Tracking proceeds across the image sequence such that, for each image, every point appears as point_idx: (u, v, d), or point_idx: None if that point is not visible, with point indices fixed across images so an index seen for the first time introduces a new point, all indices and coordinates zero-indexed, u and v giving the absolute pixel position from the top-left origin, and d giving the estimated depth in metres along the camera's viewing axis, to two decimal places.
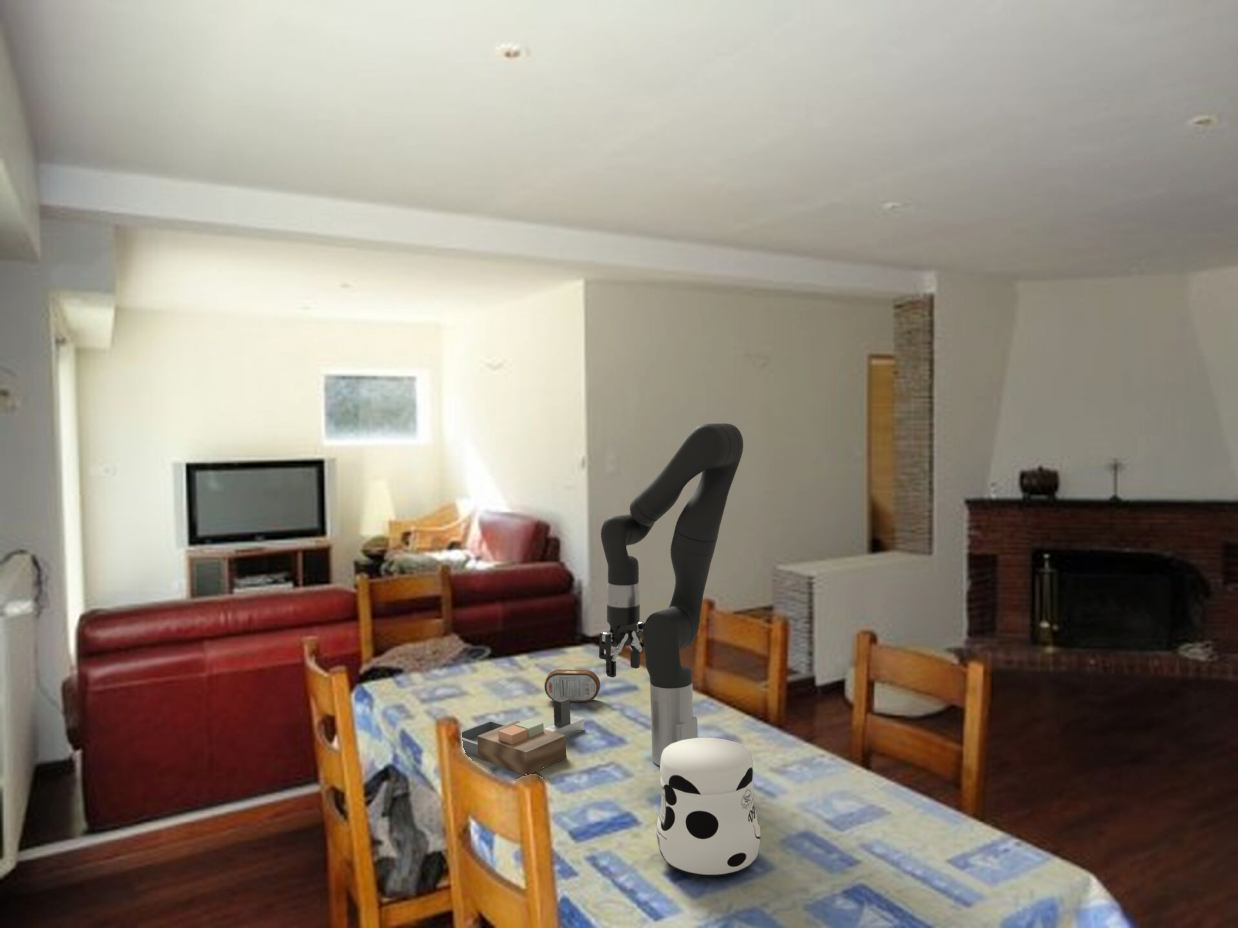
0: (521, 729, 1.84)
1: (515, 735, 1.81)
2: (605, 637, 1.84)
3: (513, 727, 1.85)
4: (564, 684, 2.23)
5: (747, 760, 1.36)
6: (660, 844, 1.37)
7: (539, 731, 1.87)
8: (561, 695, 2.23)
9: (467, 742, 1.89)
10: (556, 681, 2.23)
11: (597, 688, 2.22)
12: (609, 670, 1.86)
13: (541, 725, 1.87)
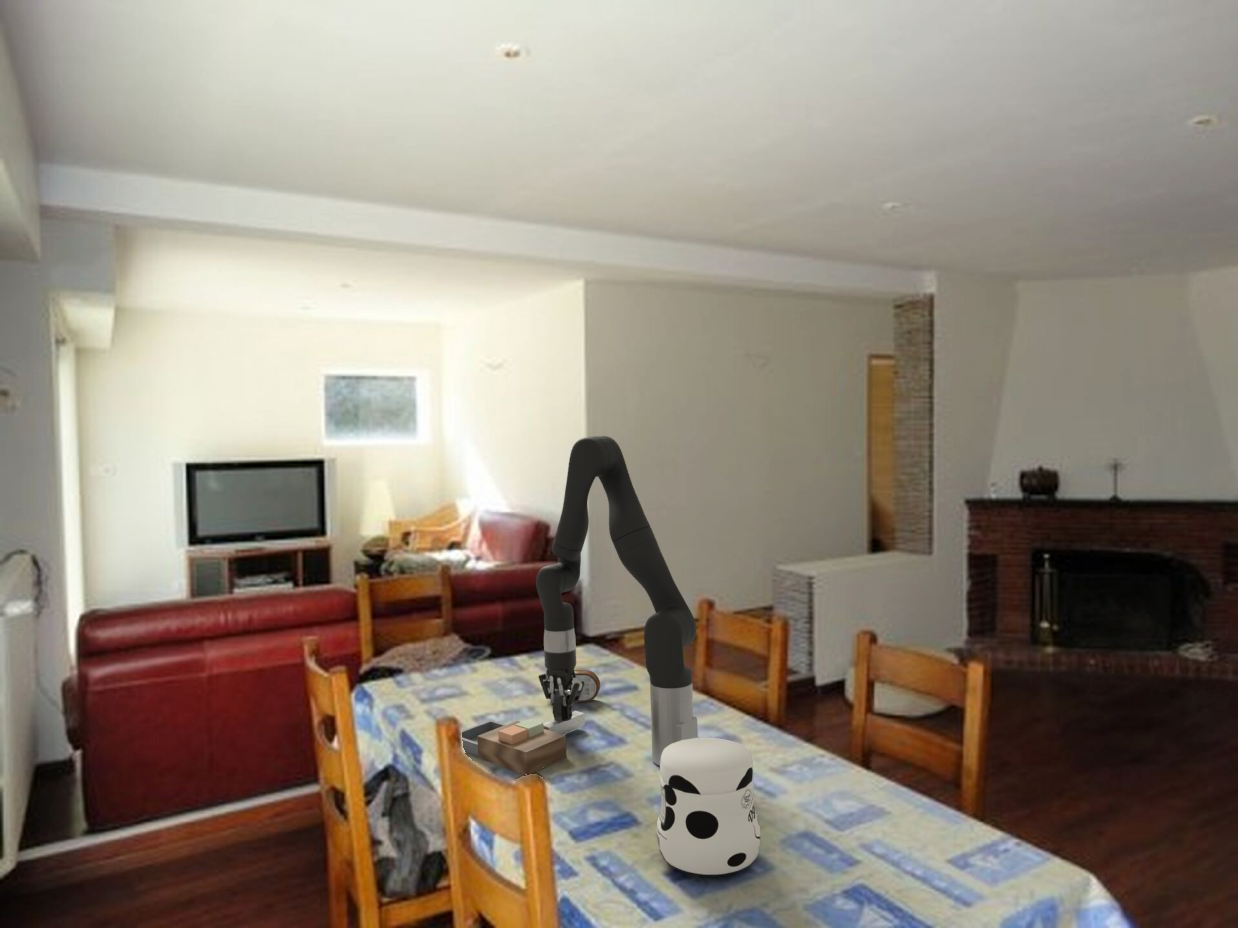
0: (521, 729, 1.84)
1: (515, 735, 1.81)
2: (581, 686, 1.94)
3: (513, 727, 1.85)
4: None
5: (747, 760, 1.36)
6: (660, 844, 1.37)
7: (539, 731, 1.87)
8: None
9: (467, 742, 1.89)
10: None
11: (597, 688, 2.22)
12: (570, 713, 1.97)
13: (541, 725, 1.87)
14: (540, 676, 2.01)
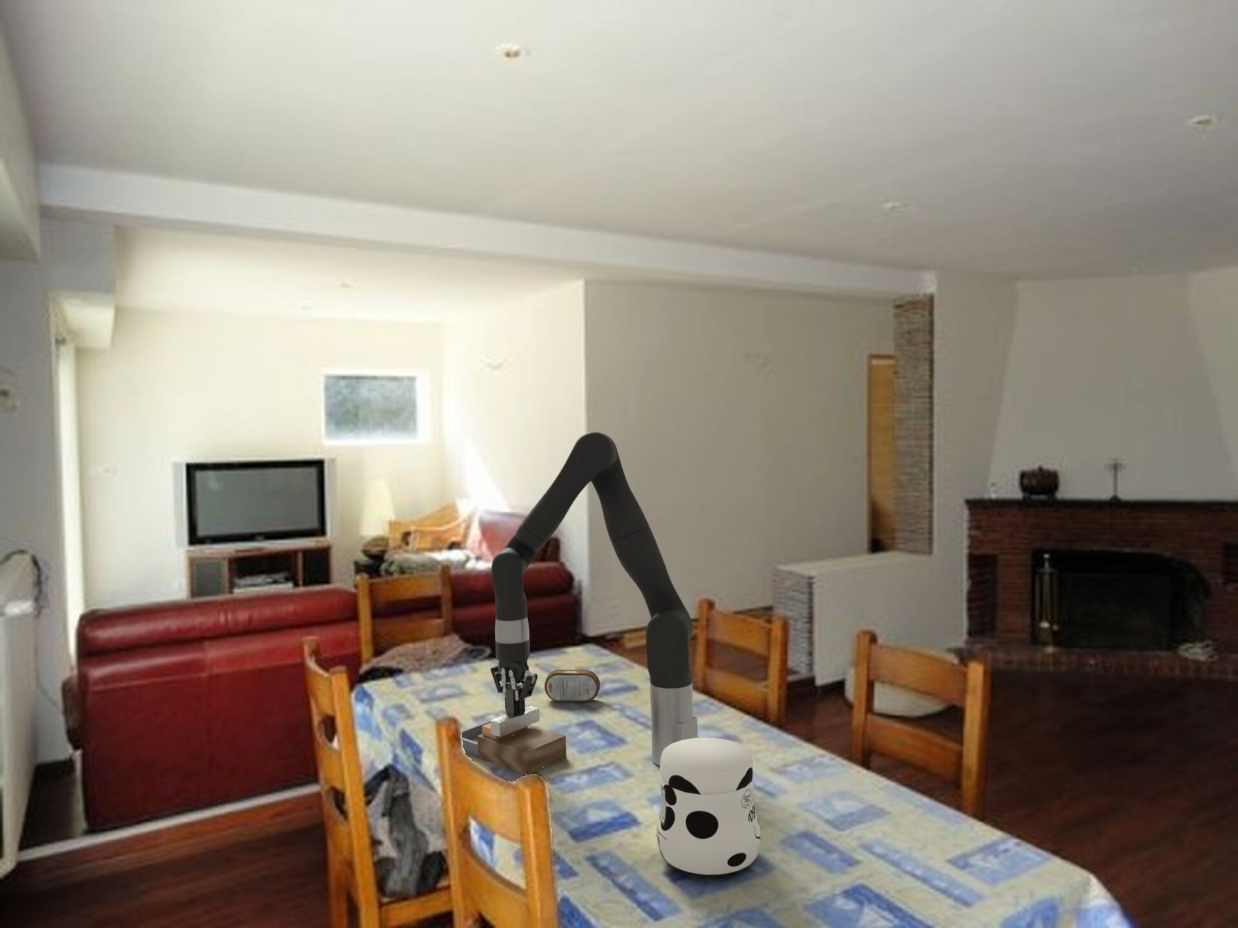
0: None
1: None
2: (534, 679, 1.83)
3: None
4: (564, 684, 2.23)
5: (747, 760, 1.36)
6: (660, 844, 1.37)
7: None
8: (561, 695, 2.23)
9: (467, 742, 1.89)
10: (556, 681, 2.23)
11: (597, 688, 2.22)
12: (523, 708, 1.85)
13: None
14: (492, 669, 1.89)
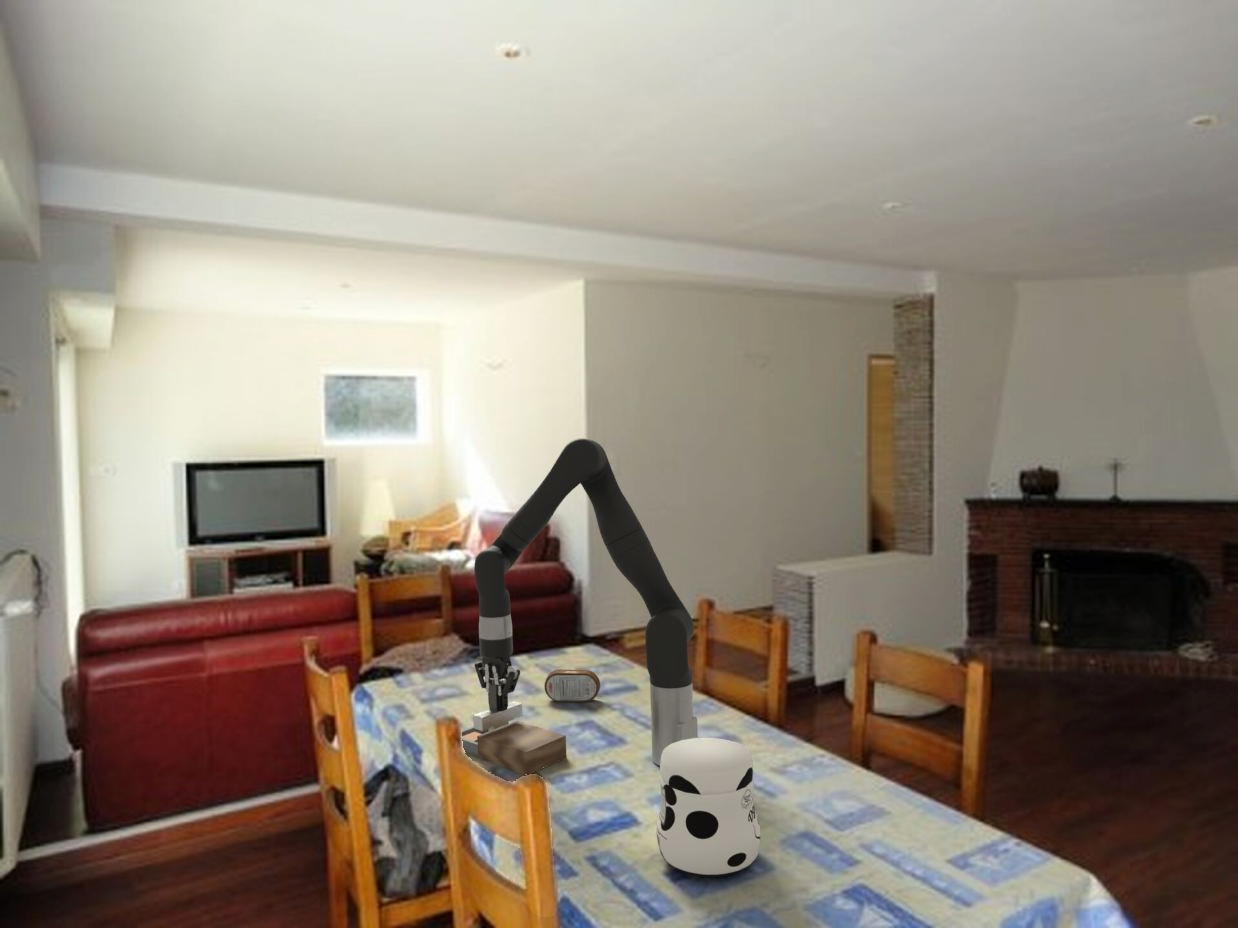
0: None
1: None
2: (517, 675, 1.86)
3: None
4: (564, 684, 2.23)
5: (747, 760, 1.36)
6: (660, 844, 1.37)
7: None
8: (561, 695, 2.23)
9: (467, 742, 1.89)
10: (556, 681, 2.23)
11: (597, 688, 2.22)
12: (506, 703, 1.89)
13: None
14: (476, 664, 1.93)
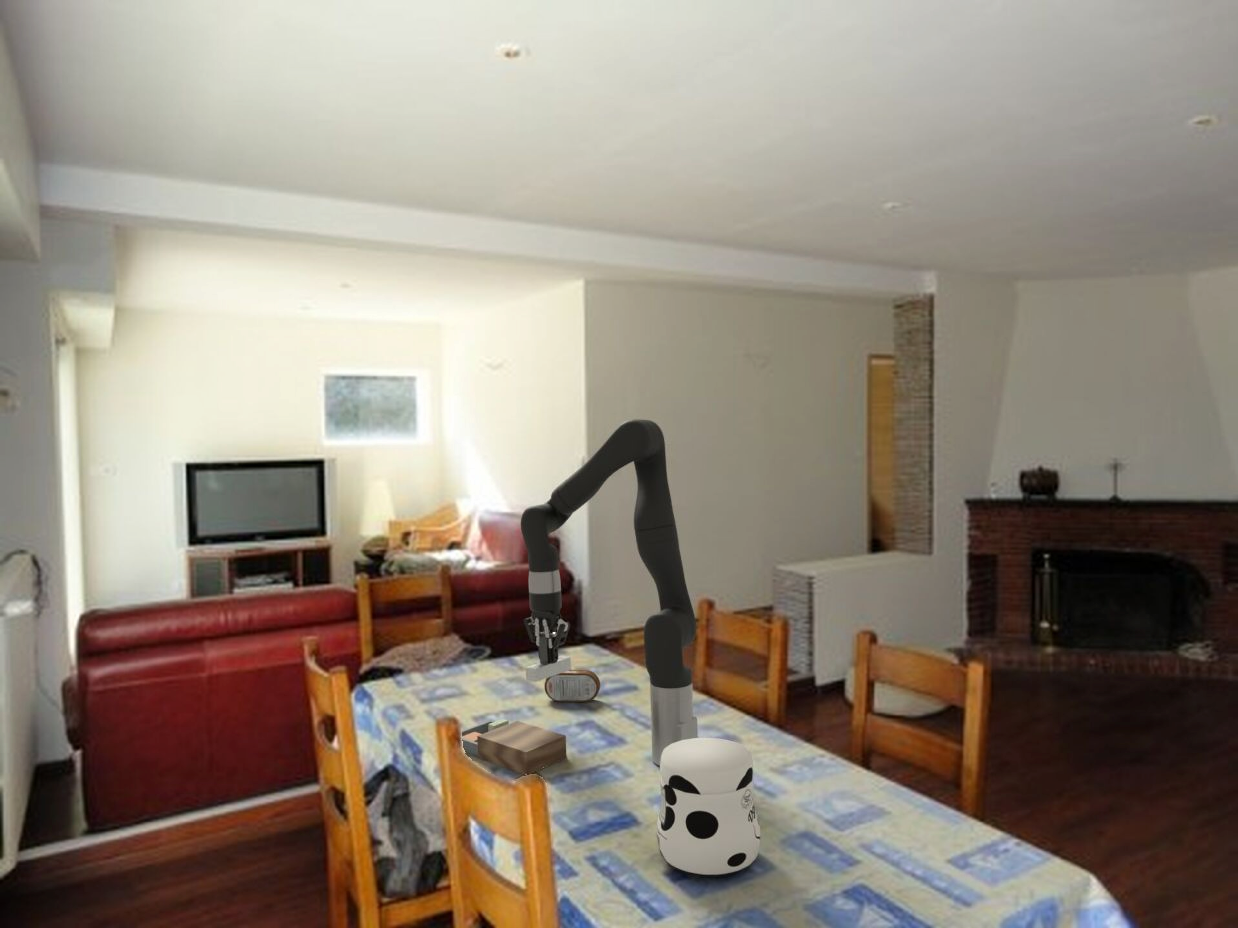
0: None
1: None
2: (567, 627, 1.92)
3: None
4: (564, 684, 2.23)
5: (747, 760, 1.36)
6: (660, 844, 1.37)
7: (503, 721, 1.95)
8: (561, 695, 2.23)
9: (467, 742, 1.89)
10: (556, 681, 2.23)
11: (597, 688, 2.22)
12: (556, 655, 1.95)
13: (502, 719, 1.96)
14: (525, 620, 1.99)
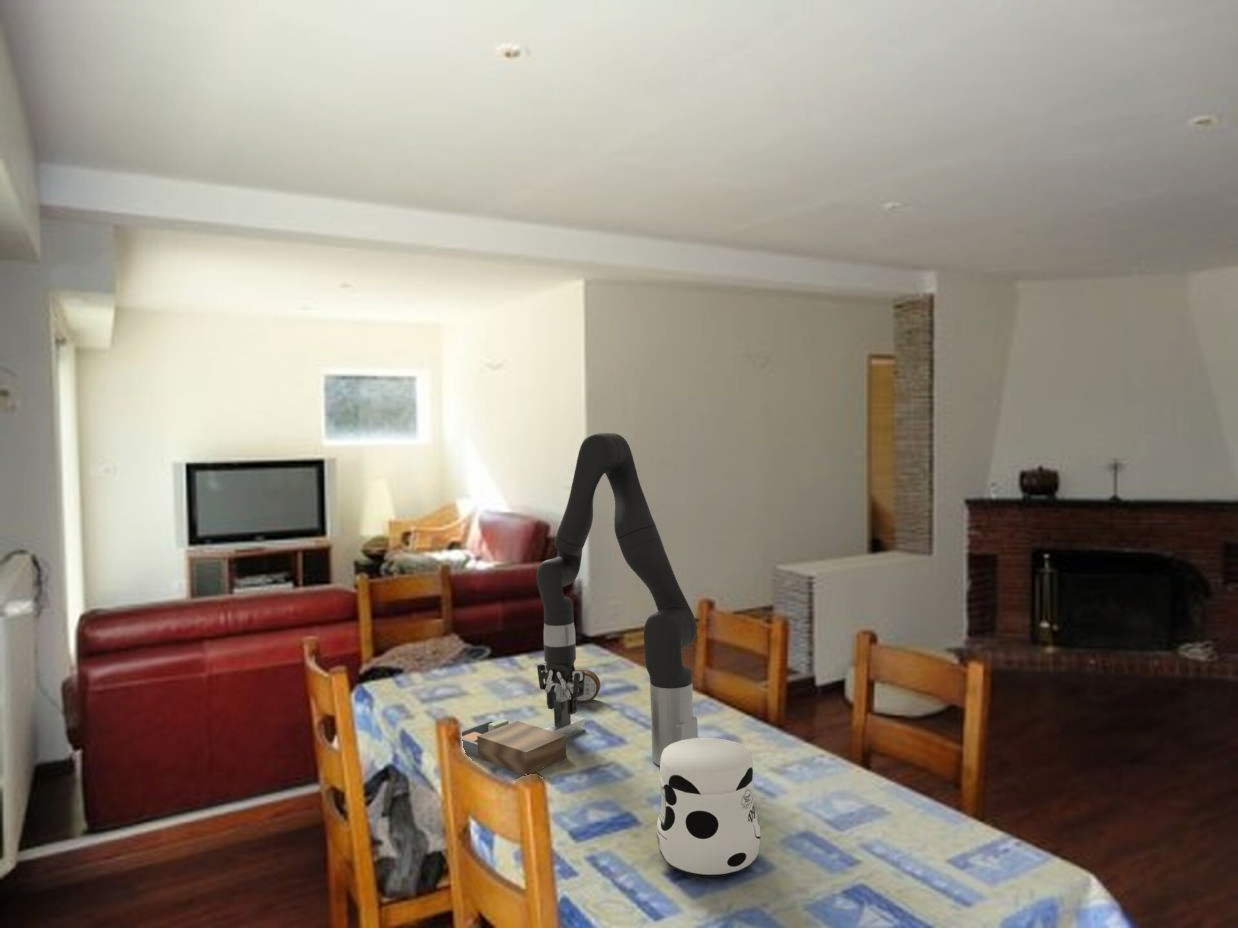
0: None
1: None
2: (582, 676, 1.94)
3: None
4: None
5: (747, 760, 1.36)
6: (660, 844, 1.37)
7: (503, 721, 1.95)
8: (561, 695, 2.23)
9: (467, 742, 1.89)
10: None
11: (597, 688, 2.22)
12: (575, 706, 1.96)
13: (502, 719, 1.96)
14: (539, 666, 2.01)
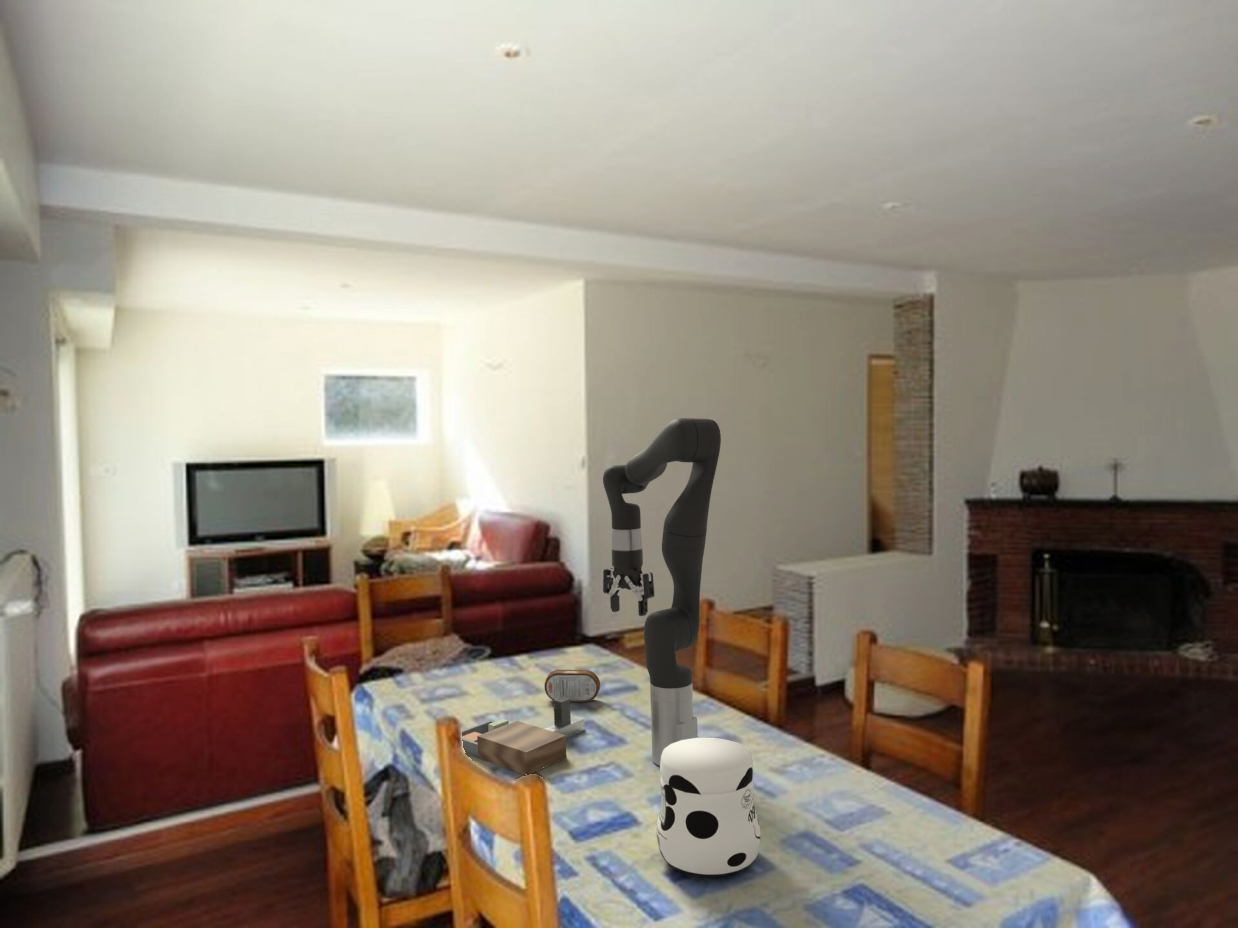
0: None
1: None
2: (651, 576, 1.97)
3: None
4: (564, 684, 2.23)
5: (747, 760, 1.36)
6: (660, 844, 1.37)
7: (503, 721, 1.95)
8: (561, 695, 2.23)
9: (467, 742, 1.89)
10: (556, 681, 2.23)
11: (597, 688, 2.22)
12: (646, 608, 1.98)
13: (502, 719, 1.96)
14: (605, 571, 2.04)
